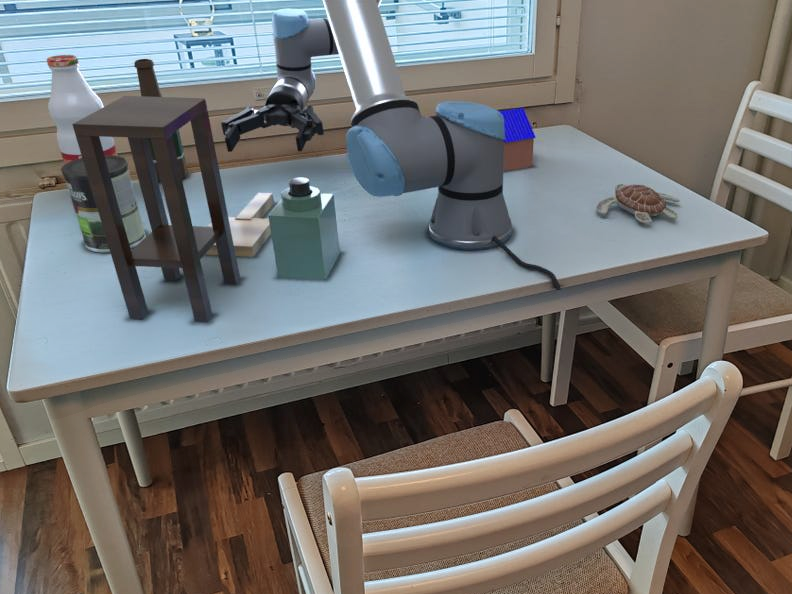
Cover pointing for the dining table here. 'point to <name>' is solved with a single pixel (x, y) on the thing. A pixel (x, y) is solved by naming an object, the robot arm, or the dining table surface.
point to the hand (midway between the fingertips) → (263, 145)
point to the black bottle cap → (299, 187)
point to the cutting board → (249, 227)
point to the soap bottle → (304, 235)
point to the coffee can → (88, 209)
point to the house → (517, 140)
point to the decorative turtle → (639, 202)
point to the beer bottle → (151, 89)
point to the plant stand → (159, 196)
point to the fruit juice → (72, 105)
